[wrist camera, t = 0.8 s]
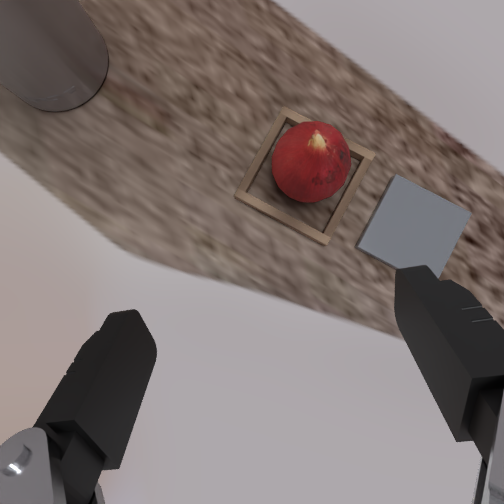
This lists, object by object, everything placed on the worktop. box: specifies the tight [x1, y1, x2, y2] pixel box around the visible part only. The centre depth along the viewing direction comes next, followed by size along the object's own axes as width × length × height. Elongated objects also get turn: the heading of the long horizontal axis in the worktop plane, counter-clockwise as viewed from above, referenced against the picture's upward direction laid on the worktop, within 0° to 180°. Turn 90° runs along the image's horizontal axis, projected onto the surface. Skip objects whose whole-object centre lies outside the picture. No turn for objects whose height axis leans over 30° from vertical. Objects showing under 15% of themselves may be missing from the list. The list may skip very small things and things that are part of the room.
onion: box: [272, 121, 351, 202], centre depth 23 cm, size 6×6×8 cm
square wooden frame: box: [234, 106, 376, 246], centre depth 27 cm, size 9×9×1 cm
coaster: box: [355, 174, 471, 278], centre depth 27 cm, size 7×7×1 cm
